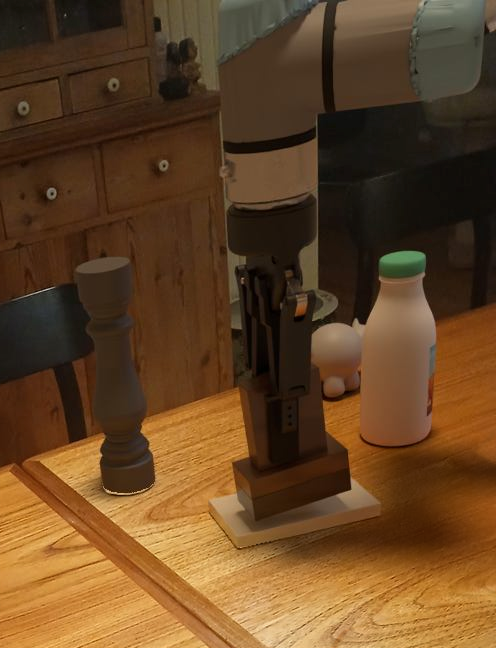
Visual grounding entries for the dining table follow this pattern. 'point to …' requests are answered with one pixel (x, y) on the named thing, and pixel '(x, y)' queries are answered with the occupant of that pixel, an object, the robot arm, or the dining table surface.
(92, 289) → the candle holder
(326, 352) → the round bodied animal figurine
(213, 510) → the tile
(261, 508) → the stepped wooden block
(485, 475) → the dining table surface
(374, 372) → the milk bottle
